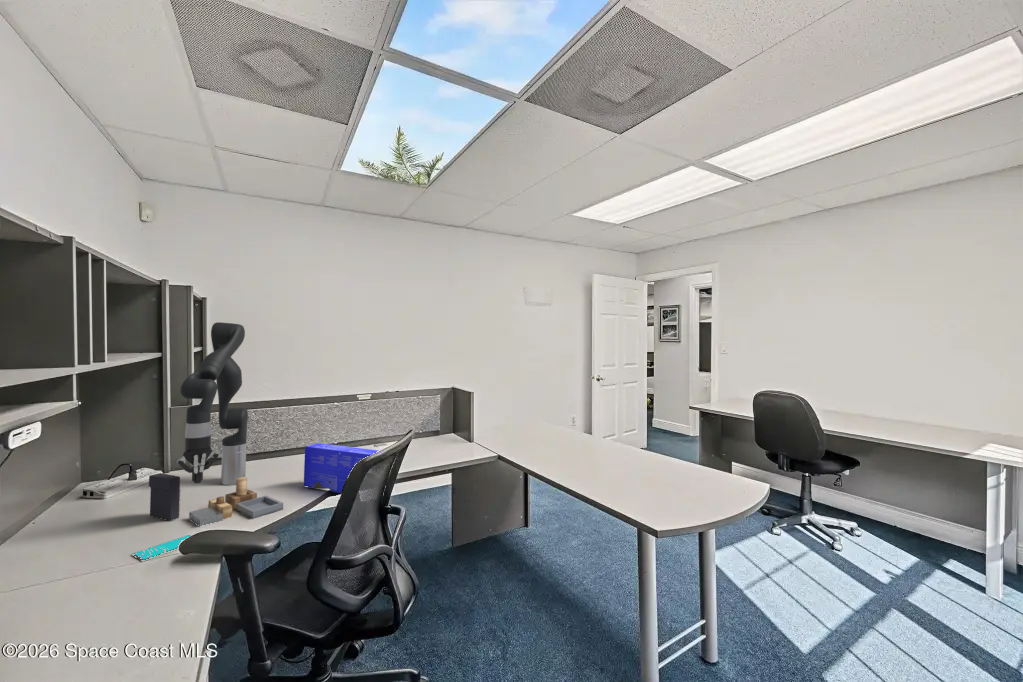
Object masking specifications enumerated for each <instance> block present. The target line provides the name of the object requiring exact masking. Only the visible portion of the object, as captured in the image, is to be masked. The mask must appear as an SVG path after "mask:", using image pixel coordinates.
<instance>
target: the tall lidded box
mask: <svg viewBox="0 0 1023 682" xmlns="http://www.w3.org/2000/svg"><path fill="white" fill-rule="evenodd" d="M148 487H150V497H149V499H150V501H149V516H150V517H151V516H153V517H152V518H155V517H157V519H159V518H162V519H161V520H164V519H166V520H165V521H168V520H171V521H173V519H174V520H177V519H179V517H180V516H181V515H180V514H181V513H180V512H181V503H180V501H181V477H180V476H178V475H172V474H169V473H168V474H167V473H162V472H158V473H155V474H151V475H149V477H148ZM176 518H177V519H176Z"/></svg>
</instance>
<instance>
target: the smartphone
mask: <svg viewBox="0 0 1023 682" xmlns="http://www.w3.org/2000/svg"><path fill="white" fill-rule="evenodd" d="M190 536H191V535H190V534H187V535H183V536H181V537H179V538H175V539H173V540H170V541H166V542H163V543H160V544H157V545H154V546H155V547H154V546H152V548H151V547H148V548H145V549H146V550H145V549H144V550H145V553H144V552H143V551H142V550H140V552H139V551H136V552H134V553H132V554H135V555H134V556H136V557H138V556H139V557H138V558H139V559H140V558H142V559H140V560H146V559H149V558H150V557H154V556H155V555H156V556H157V555H160V554H161V553H164V550H163V549H166V552H168V551H171V550H174V549H177V548H178V545H179V543H180V542H181V540H184V539H186V538H187V537H190ZM158 547H159V548H158ZM161 547H162V548H163V549H162V548H161ZM164 547H165V548H164ZM154 548H156V549H157V550H158V551H156V550H155V549H154ZM160 548H161V549H160ZM167 548H168V549H169V550H168V549H167ZM147 549H148V550H149V551H150V552H151V554H152V555H150V553H149V551H148V550H147ZM150 549H152V550H153V552H152V551H151V550H150ZM136 553H137V554H136ZM142 553H143V554H144V555H142ZM140 556H141V557H140ZM147 556H149V557H147ZM140 560H139V561H140ZM149 560H150V559H149Z"/></svg>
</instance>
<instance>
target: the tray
mask: <svg viewBox="0 0 1023 682" xmlns="http://www.w3.org/2000/svg"><path fill="white" fill-rule="evenodd" d="M236 510H237V512H238V511H239V513H240V512H241V514H242V513H243V514H242V515H244V514H245V516H246V515H247V516H246V517H249V518H251V519H253V520H254V519H256V518H257V519H258V518H261V517H263V516H267V515H270V514H274V513H276V512H280V511H283V510H284V502H282V501H280V500H277V499H275V498H273V497H270V496H268V495H262V496H260V497H257V498H255V499H251V500H248V501H244V502H240V503H237V504H236V509H235V511H236Z"/></svg>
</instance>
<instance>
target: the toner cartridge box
mask: <svg viewBox="0 0 1023 682" xmlns="http://www.w3.org/2000/svg"><path fill="white" fill-rule="evenodd" d="M377 451H379V450H378V449H371V448H363V447H362V448H361V447H355V446H346V445H345V446H344V445H337V444H330V443H329V444H328V443H323V442H321V443H320V442H318V443H313V444H310V445H306V446H305V447H304V464H303V465H304V467H303V487H304V486H308V487H313V486H315V485H314V484H316V483H317V482H321V483H320V484H321V486H323V487H324V488H329V489H331V491H332V492H331V493H336V494H341V491H342V489H343V486H344V484H345V481H346V479H347V477H348V475H349V473H350V471H351V470H352V468H353V467H354V465H355V464H356V463H358V462H359V461H360V460H362V459H363V458H365V457H367V456H370V455H372V454H373V453H376V452H377ZM329 481H331V482H330V483H329Z"/></svg>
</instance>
